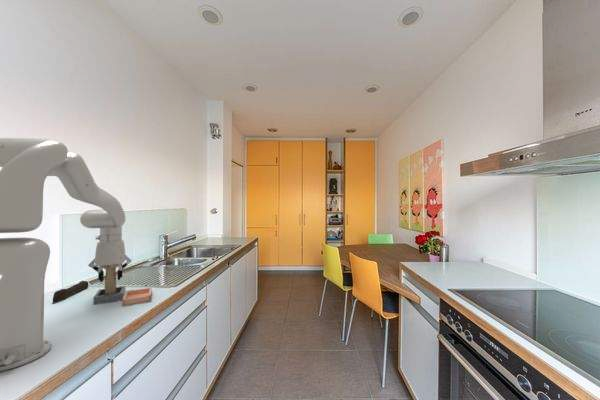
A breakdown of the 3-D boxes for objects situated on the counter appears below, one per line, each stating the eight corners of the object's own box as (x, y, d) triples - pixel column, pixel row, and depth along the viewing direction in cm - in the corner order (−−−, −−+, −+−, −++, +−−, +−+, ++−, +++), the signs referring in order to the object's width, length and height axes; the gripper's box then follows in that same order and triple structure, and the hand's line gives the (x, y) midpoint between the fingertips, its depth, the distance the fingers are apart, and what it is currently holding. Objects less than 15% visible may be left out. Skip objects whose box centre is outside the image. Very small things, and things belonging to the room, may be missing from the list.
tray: (150, 301, 103) (150, 295, 103) (122, 306, 98) (122, 300, 98) (151, 292, 113) (151, 287, 113) (126, 296, 108) (126, 291, 108)
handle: (116, 299, 105) (116, 264, 105) (98, 301, 103) (99, 265, 103) (121, 295, 109) (121, 261, 110) (104, 296, 108) (105, 262, 108)
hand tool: (79, 289, 119) (79, 279, 119) (88, 288, 119) (88, 279, 119) (45, 305, 100) (45, 293, 100) (56, 304, 101) (56, 293, 101)
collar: (122, 300, 104) (122, 293, 104) (93, 304, 99) (93, 297, 99) (125, 292, 113) (125, 286, 113) (99, 296, 109) (99, 289, 109)
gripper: (82, 240, 99) (82, 286, 99) (133, 237, 108) (133, 279, 107) (87, 238, 106) (87, 280, 105) (135, 235, 114) (135, 275, 114)
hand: (110, 279), depth 106 cm, fingers open, 5 cm apart
